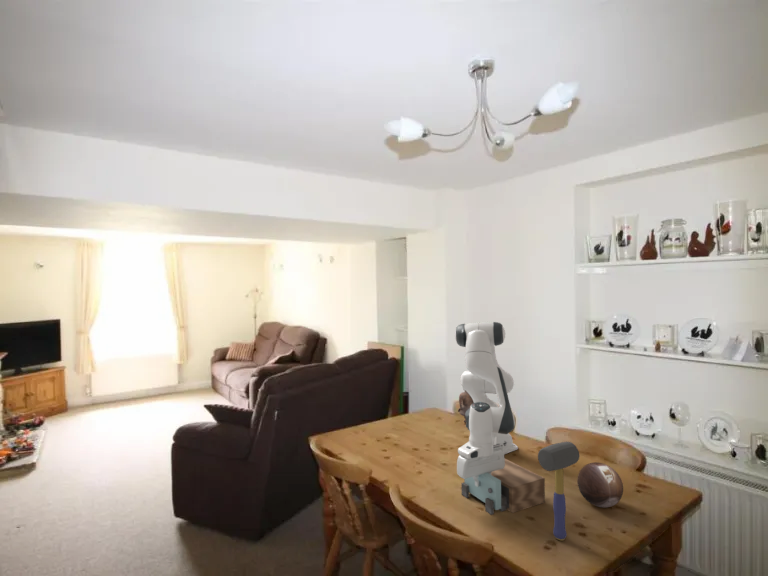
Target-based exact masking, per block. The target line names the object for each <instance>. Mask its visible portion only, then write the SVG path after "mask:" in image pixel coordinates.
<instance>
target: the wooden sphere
mask: <svg viewBox="0 0 768 576" xmlns="http://www.w3.org/2000/svg"><path fill="white" fill-rule="evenodd" d="M576 481H577V488H578V490H579V492H580V494H581V496H582V497H583V498H584V499H585V500H586V501H587V502H588V503H590V504H591V505H593V506H596V507H599V508H610V507H613V506H615V505H617V504H618V503H619V502H620V501H621V499H622V497H623V493H624V483H623V481H622V478H621V476H620V475H619V474H618V472H617V471H616V470H615V469H614V468H613V467H611V466H610V465H608V464H606V463H603V462H599V461H598V462H590V463H588V464H585V465H584V466H582V467H581V469H580V470H579V472H578V474H577V479H576Z"/></svg>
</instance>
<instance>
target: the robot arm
mask: <svg viewBox="0 0 768 576" xmlns="http://www.w3.org/2000/svg"><path fill="white" fill-rule="evenodd" d="M505 338H506V330H505V328H504V327H503V324H502V323H501V322H497V321H493V322H492V321H491V322H490V321H489V322H488V321H479V322H470V323H461V324H458V325H457V327H455V331H454V339H455V341H456V344H457V345H458V346H460V347H462V348H465V350H464V357H465V360H464V361H465V366H466V369H467V370H464V371H463V372H462V373H461V375H460V378H459V380H460V381H459V383H460V386H461V388H462V389H464V390H463V391H464V392H465V391H467V392H468V393H469V395H470V396H471V398H472V399H473V402H474V403H473V404H472V405H471V406H470V408H469V409H468V410H467V411H466V413H465V416H466V422H465V427H466V429H467V430H468V431H469V437H468V441H467V442H466V443H464V444H463V445H461V446H460V447H458V448H457V453H458V457H457V460H456V474H457V475H458V476H459V477H460V478H461V479H466V478H470V477H473V479H474V481H475V486H477V487H478V486H481V481H479V480H478V479H477V478H478V477H479V475H481V474H484V473H488V474H490V475H491V472H493V471H496V470H500V469H503V468H504V467H505V459H506V458H505V455H506V454H508V453H512V452H514V451H516V450H518V449H519V446H517V444H515V443H513V442H514V441H513V437H512V435H511V434H510V433H511V432H512V431H513V430H514V429H515V424H516V421H515V420H516V419H515V416H514V412H513V410H512V408H511V404H510V399H509V396H508V394H510V393H511V392H512V390H513V389H514V385H515V384H514V382H515V381H514V378H513V376H512V375H511V373H509V372H508V371H506V370H504V369H503V368H502V367H501V365H500V364H499V362H498V359H497V355H496V348H495V347H497V346H500V345H503V343H504V342H505ZM487 394H493V395H496V397H497V401H498V404H497V403H496V402H495V401H494V400H492V399H490V398H489V397H488V396H487ZM498 405H499V406H498ZM504 458H505V459H504Z"/></svg>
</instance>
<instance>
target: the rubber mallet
mask: <svg viewBox="0 0 768 576" xmlns="http://www.w3.org/2000/svg"><path fill="white" fill-rule="evenodd" d="M537 453H538V454H537V459H538V462H539V465H540V466H541V468H543V469H544V470H545V471H549V472H553V471H554V493H553V497H552V500H553V501H552V502H553V503H552V508H553V509H552V510H553V520H554V522H553V523H554V524H553V529H552V532H553V536H554V537H555V539H556V540H558V541H564V540H565V539H566V538H567V536H568V535H567V530H566V512H567V511H566V510H567V503H566V497H565V496H566V495H565V493H564V489H565V488H564V469H565V468H568V467H570V466H572V465H574V464H576V463H577V462H579V460H580V451H579V449H578V447H577V446H576V445H575V444H574V443H573V442H571V441H562V442H557V443H554V444H550V445H547V446H545V447H543V448H541V449H539V450H538V452H537Z"/></svg>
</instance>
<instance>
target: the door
mask: <svg viewBox="0 0 768 576" xmlns="http://www.w3.org/2000/svg"><path fill="white" fill-rule="evenodd" d="M477 479H478V480H479V481H481V486H478V487H477V486H475V481H474V479H473V477H470V478H466V479H464V480H463V481H464V482H463V483H466V484H467V485H469V494H471V495H472V496H473V497H476V498H477V499H478V500H480V501H481V502H483V503H485V498H489V499H491V500H492V501H494V510H495V511H499V510H498V509H501V480H499V479H497V478H496V477H494V476H492V475H490V474H488V473H484V474H481V475H479V477H478V478H477Z"/></svg>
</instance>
